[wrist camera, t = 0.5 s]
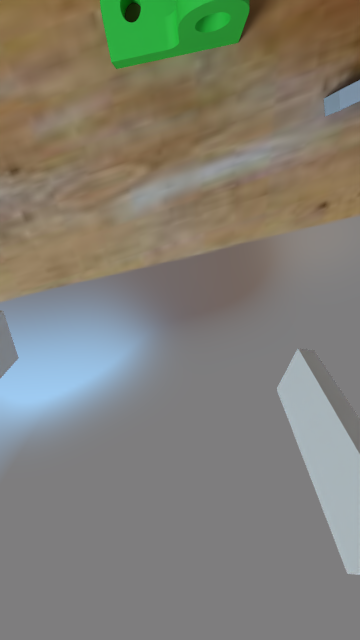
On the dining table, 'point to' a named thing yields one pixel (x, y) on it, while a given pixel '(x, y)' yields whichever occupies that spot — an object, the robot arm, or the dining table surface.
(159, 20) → the mechanical part
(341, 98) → the hub cradle
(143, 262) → the dining table surface
